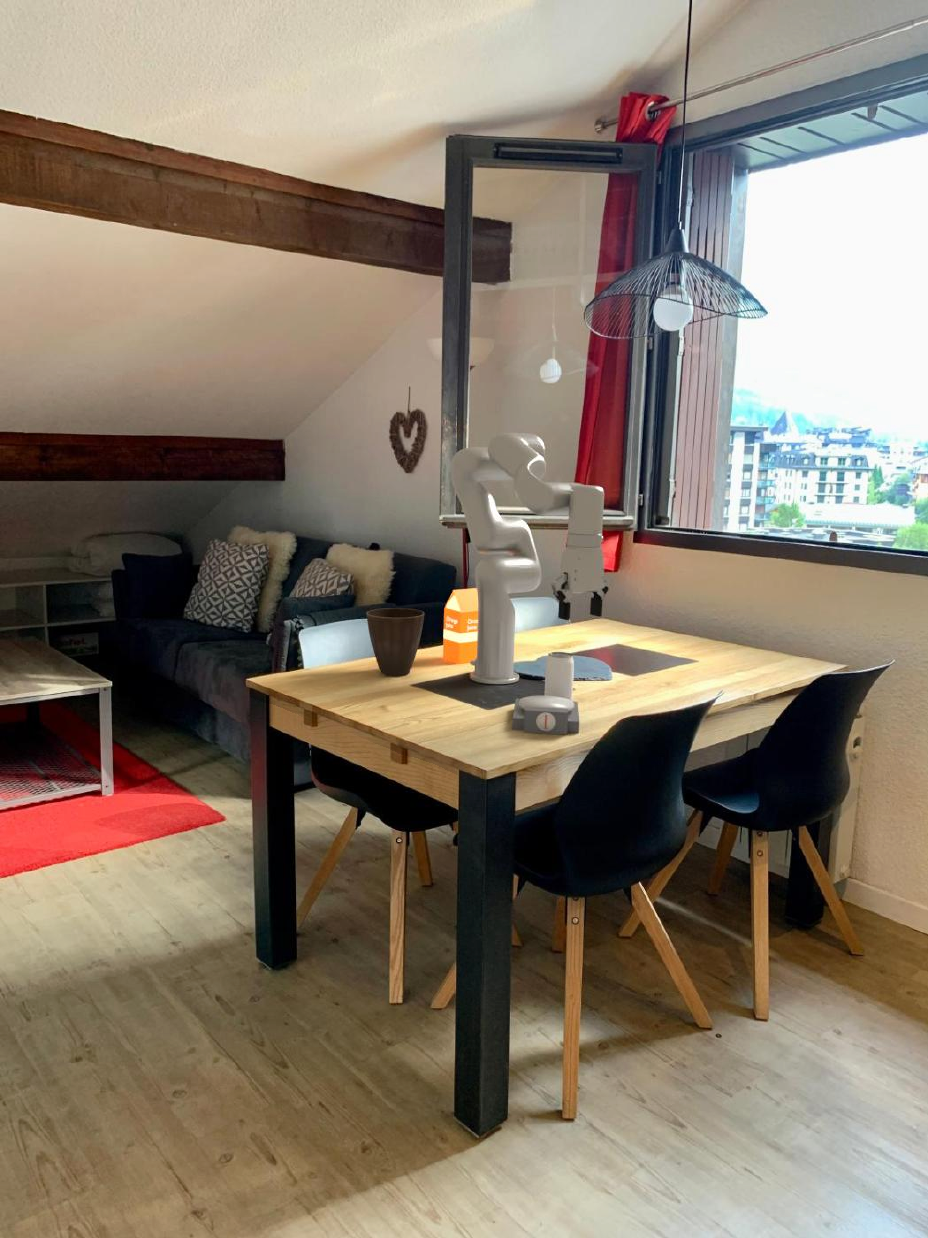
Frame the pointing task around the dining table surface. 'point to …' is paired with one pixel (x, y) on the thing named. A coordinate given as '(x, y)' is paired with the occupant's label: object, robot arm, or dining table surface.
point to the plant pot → (395, 638)
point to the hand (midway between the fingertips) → (579, 617)
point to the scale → (546, 715)
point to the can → (559, 675)
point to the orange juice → (461, 626)
